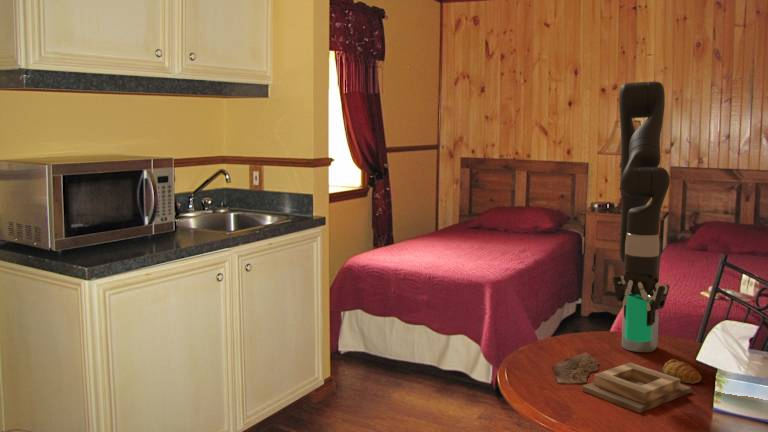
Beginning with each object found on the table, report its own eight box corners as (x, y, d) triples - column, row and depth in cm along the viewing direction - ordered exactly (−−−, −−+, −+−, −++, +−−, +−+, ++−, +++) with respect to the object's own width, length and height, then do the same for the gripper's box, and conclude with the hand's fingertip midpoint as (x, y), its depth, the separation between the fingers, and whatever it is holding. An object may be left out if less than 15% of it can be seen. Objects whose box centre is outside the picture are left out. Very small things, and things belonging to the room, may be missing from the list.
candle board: (632, 372, 179) (633, 358, 178) (690, 392, 166) (691, 377, 165) (582, 390, 168) (582, 376, 167) (639, 413, 155) (640, 397, 154)
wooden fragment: (581, 389, 169) (581, 385, 169) (538, 381, 175) (538, 376, 175) (610, 358, 191) (610, 355, 190) (571, 352, 196) (571, 348, 196)
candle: (620, 338, 165) (622, 289, 163) (632, 332, 169) (633, 284, 168) (644, 343, 161) (646, 293, 159) (656, 338, 165) (658, 288, 163)
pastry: (708, 382, 172) (709, 368, 172) (688, 387, 170) (689, 372, 169) (678, 370, 181) (678, 356, 180) (658, 374, 178) (659, 360, 178)
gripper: (679, 255, 158) (675, 327, 161) (625, 246, 170) (623, 313, 172) (659, 259, 154) (656, 333, 157) (606, 249, 166) (603, 318, 168)
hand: (638, 322), depth 164 cm, fingers closed on candle, 4 cm apart
